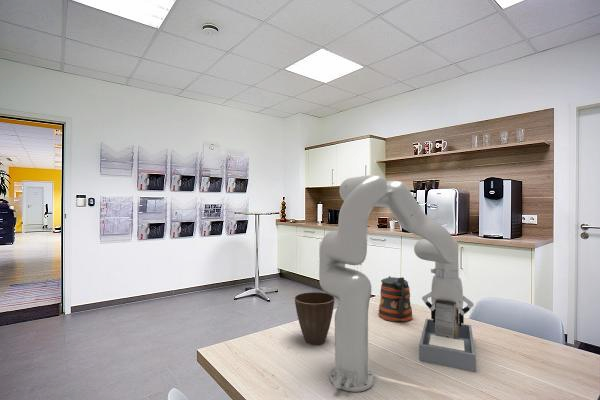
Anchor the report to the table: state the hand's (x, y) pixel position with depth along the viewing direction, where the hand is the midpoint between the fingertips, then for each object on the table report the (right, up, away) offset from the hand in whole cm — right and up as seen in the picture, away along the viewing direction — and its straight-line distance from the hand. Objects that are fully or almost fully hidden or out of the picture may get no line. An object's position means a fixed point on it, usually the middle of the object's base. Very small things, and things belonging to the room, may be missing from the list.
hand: (447, 322), depth 110 cm
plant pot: (-47, -9, +5) cm, 48 cm away
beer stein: (-9, -9, +28) cm, 31 cm away
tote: (-2, -9, -4) cm, 9 cm away
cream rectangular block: (-5, -7, -10) cm, 13 cm away
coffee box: (0, -8, 0) cm, 8 cm away
